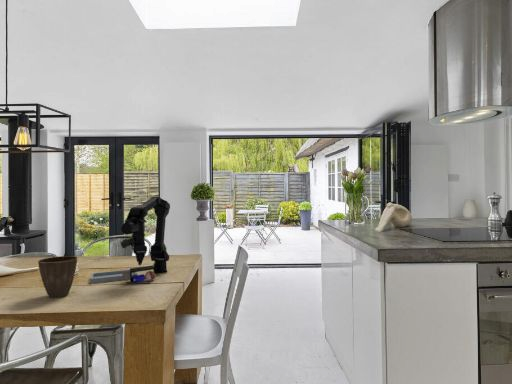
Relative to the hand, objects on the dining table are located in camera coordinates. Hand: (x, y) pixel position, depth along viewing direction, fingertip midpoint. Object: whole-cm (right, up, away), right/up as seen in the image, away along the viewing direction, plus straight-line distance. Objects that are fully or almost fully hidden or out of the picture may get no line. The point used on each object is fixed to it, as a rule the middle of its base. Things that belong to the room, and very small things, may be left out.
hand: (138, 263), depth 167 cm
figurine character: (0, -10, 0) cm, 10 cm away
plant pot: (-28, -10, -20) cm, 36 cm away
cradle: (-16, -10, +8) cm, 20 cm away
